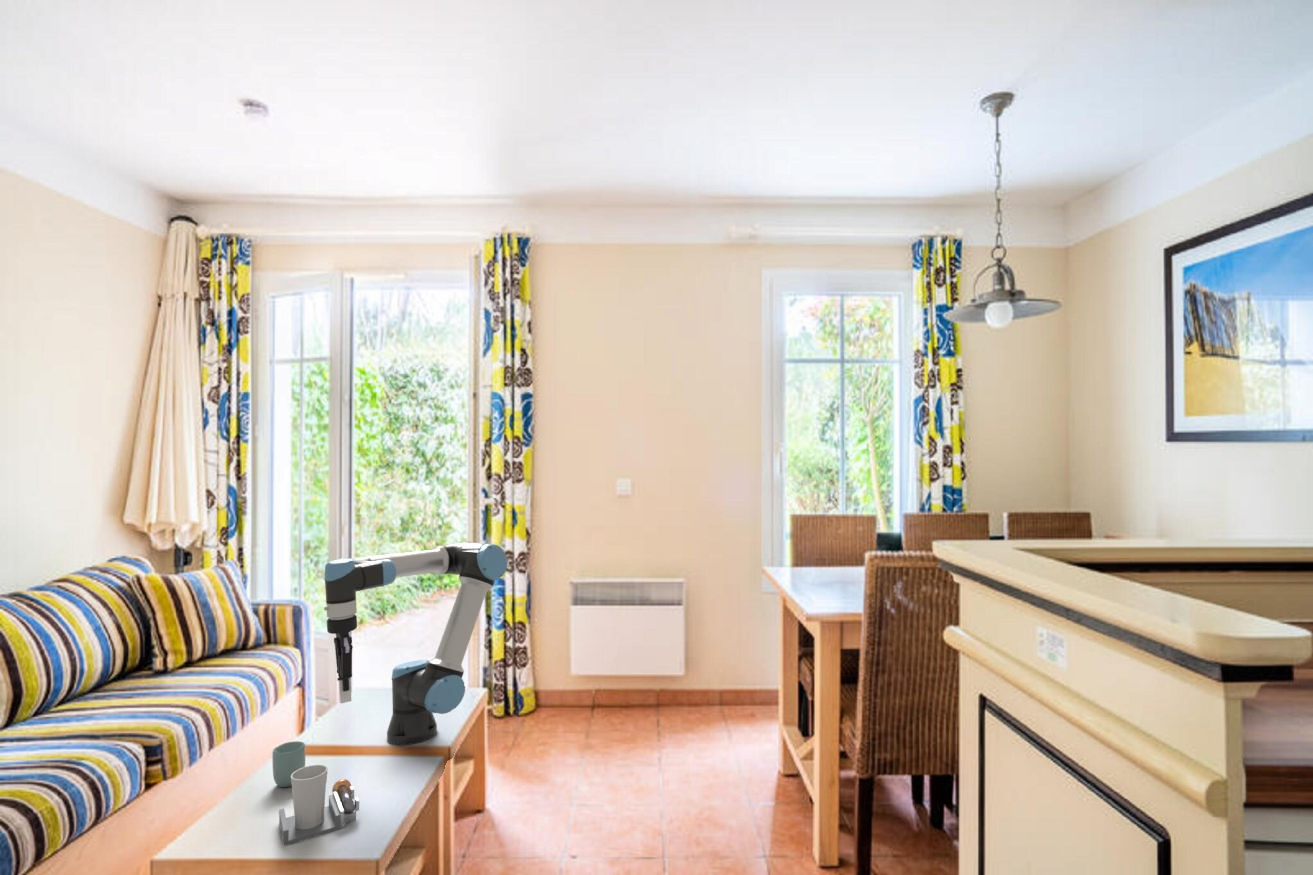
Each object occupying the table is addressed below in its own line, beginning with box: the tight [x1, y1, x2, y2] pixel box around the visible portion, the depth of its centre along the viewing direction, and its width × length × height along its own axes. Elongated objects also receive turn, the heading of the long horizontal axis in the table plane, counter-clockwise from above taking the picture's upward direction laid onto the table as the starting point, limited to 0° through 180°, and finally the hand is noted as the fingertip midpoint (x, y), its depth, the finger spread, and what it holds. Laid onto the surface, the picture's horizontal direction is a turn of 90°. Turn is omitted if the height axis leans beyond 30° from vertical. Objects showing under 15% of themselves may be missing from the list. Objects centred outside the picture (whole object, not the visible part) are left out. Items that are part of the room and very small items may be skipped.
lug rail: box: [332, 785, 360, 829], centre depth 166 cm, size 4×12×4 cm, turn 34°
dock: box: [278, 794, 342, 847], centre depth 161 cm, size 12×12×3 cm
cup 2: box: [291, 764, 328, 829], centre depth 161 cm, size 8×8×12 cm
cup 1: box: [271, 740, 306, 788], centre depth 183 cm, size 8×8×10 cm
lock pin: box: [331, 778, 355, 814], centre depth 167 cm, size 13×4×4 cm, turn 34°
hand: (345, 701), depth 183 cm, fingers closed
